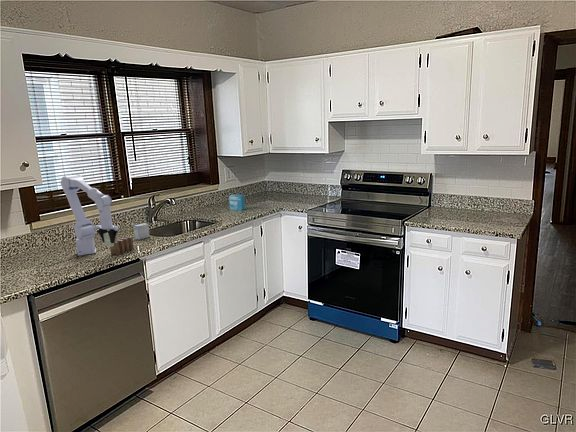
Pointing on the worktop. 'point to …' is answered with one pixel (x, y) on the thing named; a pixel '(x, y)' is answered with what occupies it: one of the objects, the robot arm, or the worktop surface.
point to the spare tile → (107, 240)
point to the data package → (237, 202)
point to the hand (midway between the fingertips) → (109, 242)
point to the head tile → (130, 242)
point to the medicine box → (141, 231)
